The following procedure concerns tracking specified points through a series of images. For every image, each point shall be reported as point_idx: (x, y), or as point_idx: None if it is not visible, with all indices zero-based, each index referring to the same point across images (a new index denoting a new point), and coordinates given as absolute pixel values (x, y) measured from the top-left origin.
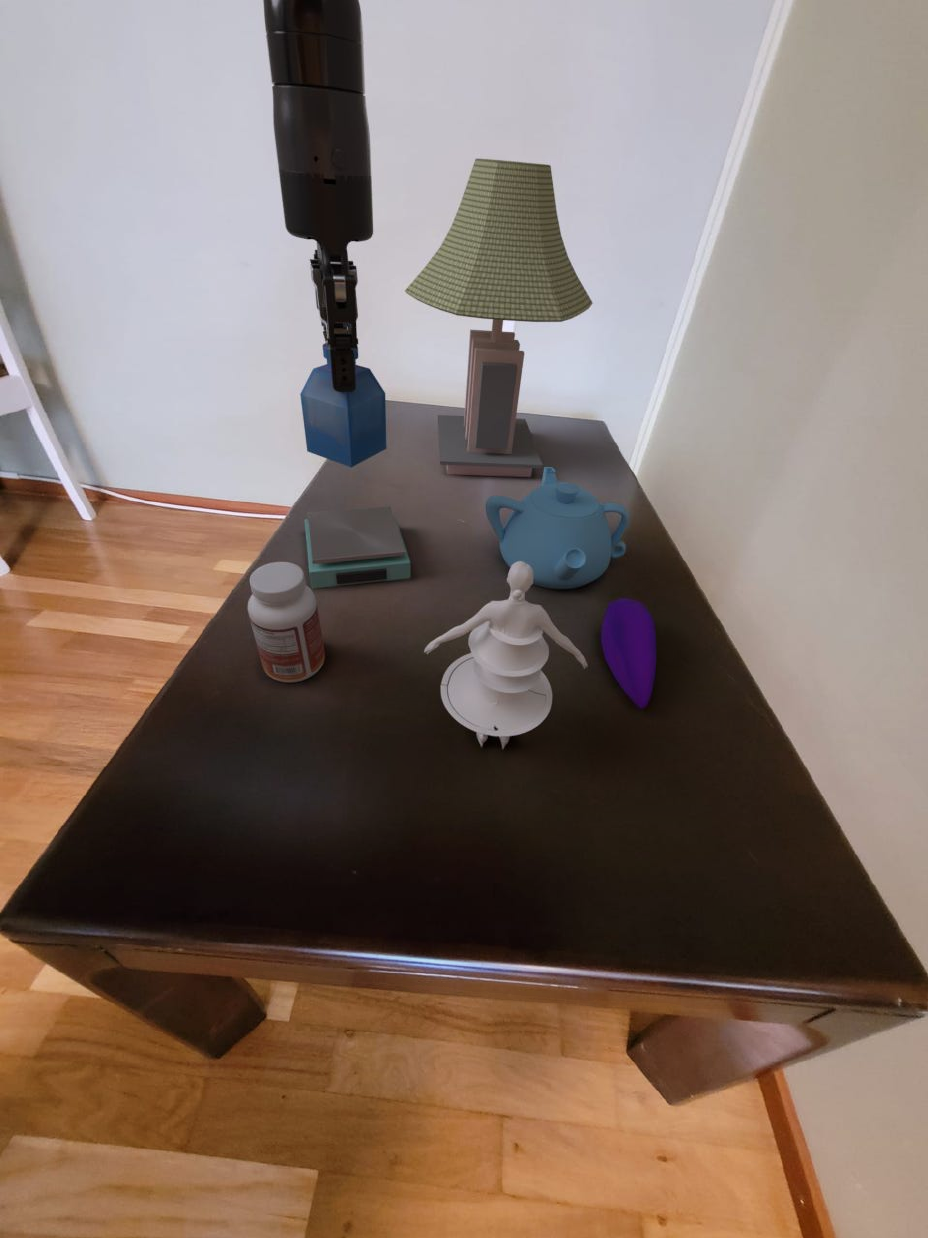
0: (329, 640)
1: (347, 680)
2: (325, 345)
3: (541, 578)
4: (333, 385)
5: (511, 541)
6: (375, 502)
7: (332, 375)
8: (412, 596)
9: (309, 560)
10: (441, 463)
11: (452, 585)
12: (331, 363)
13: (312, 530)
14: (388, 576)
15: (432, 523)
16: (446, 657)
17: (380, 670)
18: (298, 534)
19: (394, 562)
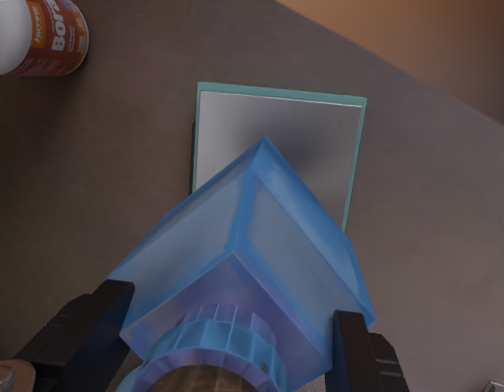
0: (89, 87)
1: (16, 96)
2: (222, 362)
3: (123, 379)
4: (101, 284)
5: None
6: (435, 236)
7: (84, 302)
8: (157, 216)
9: (231, 87)
10: (493, 387)
11: None
12: (61, 328)
13: (292, 105)
14: None
15: None
16: (38, 219)
17: (27, 139)
18: (370, 82)
19: None
